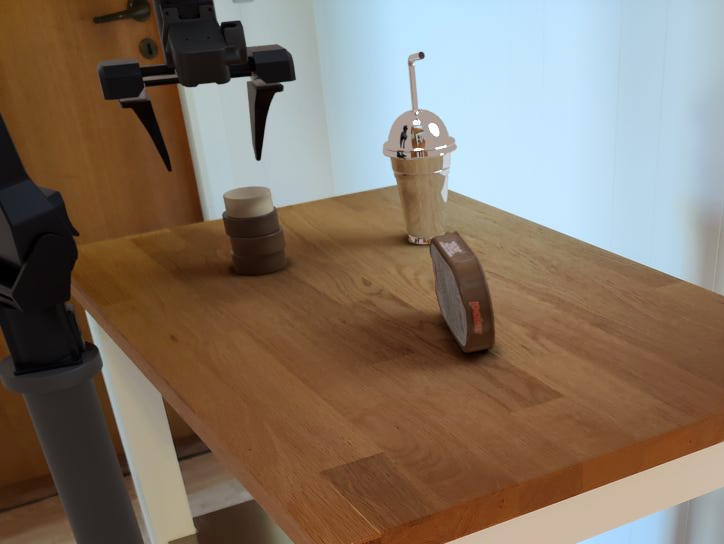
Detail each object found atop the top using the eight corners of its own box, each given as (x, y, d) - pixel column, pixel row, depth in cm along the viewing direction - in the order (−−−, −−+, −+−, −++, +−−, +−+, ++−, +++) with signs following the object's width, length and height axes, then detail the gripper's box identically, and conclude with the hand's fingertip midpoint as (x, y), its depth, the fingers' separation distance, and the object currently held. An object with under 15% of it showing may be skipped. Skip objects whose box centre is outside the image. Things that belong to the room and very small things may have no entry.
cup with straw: (468, 227, 121) (457, 37, 109) (454, 251, 114) (440, 51, 102) (401, 228, 122) (382, 40, 110) (382, 251, 116) (360, 54, 103)
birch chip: (230, 221, 107) (226, 201, 106) (223, 209, 111) (219, 190, 110) (277, 213, 109) (274, 194, 107) (269, 202, 112) (266, 183, 111)
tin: (499, 363, 88) (495, 266, 83) (465, 368, 88) (458, 271, 82) (462, 307, 100) (455, 219, 94) (431, 311, 99) (423, 223, 94)
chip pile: (238, 279, 111) (226, 222, 107) (229, 263, 115) (218, 208, 112) (293, 269, 112) (284, 214, 108) (283, 254, 117) (273, 200, 113)
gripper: (82, 2, 86) (128, 194, 95) (294, -15, 91) (318, 170, 100) (77, -7, 94) (121, 170, 104) (271, -22, 99) (296, 149, 108)
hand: (214, 165), depth 104 cm, fingers open, 9 cm apart
